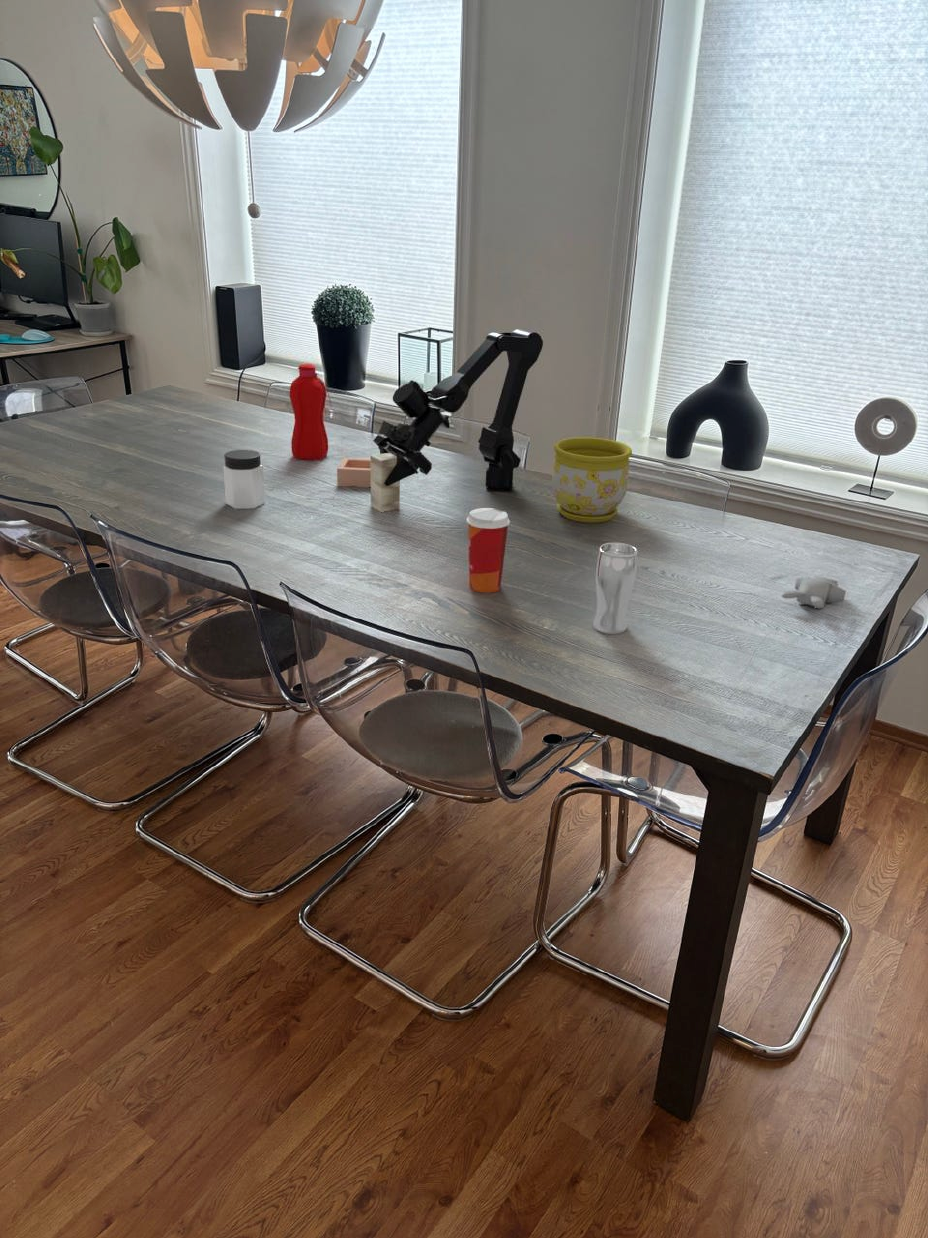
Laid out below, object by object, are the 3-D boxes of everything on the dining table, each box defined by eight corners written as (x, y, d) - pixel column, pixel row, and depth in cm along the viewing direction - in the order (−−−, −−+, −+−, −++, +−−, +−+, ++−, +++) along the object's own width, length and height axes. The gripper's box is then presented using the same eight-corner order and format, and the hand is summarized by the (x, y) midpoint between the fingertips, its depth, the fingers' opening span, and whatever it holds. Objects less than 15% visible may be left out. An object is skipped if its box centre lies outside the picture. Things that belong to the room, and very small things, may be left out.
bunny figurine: (854, 580, 185) (829, 594, 174) (848, 604, 187) (823, 620, 175) (807, 567, 190) (779, 580, 179) (801, 591, 192) (774, 606, 181)
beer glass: (625, 618, 174) (634, 542, 168) (632, 635, 168) (642, 557, 162) (587, 618, 174) (595, 541, 167) (593, 635, 168) (602, 556, 161)
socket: (381, 476, 248) (381, 459, 246) (376, 487, 239) (376, 470, 237) (343, 474, 249) (343, 457, 247) (337, 485, 240) (337, 468, 238)
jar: (224, 509, 220) (220, 459, 215) (227, 498, 228) (224, 449, 223) (263, 509, 222) (261, 459, 217) (265, 498, 229) (262, 449, 224)
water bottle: (327, 462, 258) (325, 369, 247) (288, 459, 259) (284, 366, 248) (337, 453, 266) (335, 362, 255) (299, 450, 267) (295, 360, 256)
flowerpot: (568, 497, 238) (574, 432, 231) (635, 511, 230) (643, 445, 223) (535, 516, 224) (540, 448, 217) (606, 532, 216) (614, 462, 209)
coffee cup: (481, 575, 190) (484, 503, 184) (514, 586, 186) (519, 513, 179) (454, 587, 184) (457, 514, 178) (488, 599, 180) (491, 524, 173)
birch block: (389, 503, 229) (389, 452, 223) (399, 509, 225) (399, 457, 220) (370, 506, 226) (370, 455, 221) (381, 512, 222) (381, 460, 217)
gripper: (380, 399, 224) (339, 451, 224) (421, 417, 211) (377, 471, 210) (408, 429, 232) (369, 479, 231) (450, 447, 218) (408, 500, 217)
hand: (379, 481), depth 222 cm, fingers closed on birch block, 5 cm apart
